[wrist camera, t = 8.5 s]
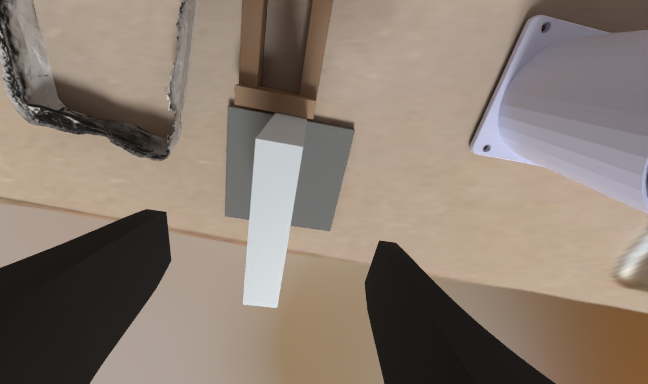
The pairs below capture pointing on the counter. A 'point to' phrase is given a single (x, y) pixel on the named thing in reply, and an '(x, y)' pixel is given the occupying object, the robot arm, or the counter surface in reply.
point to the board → (272, 206)
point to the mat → (314, 175)
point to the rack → (252, 62)
